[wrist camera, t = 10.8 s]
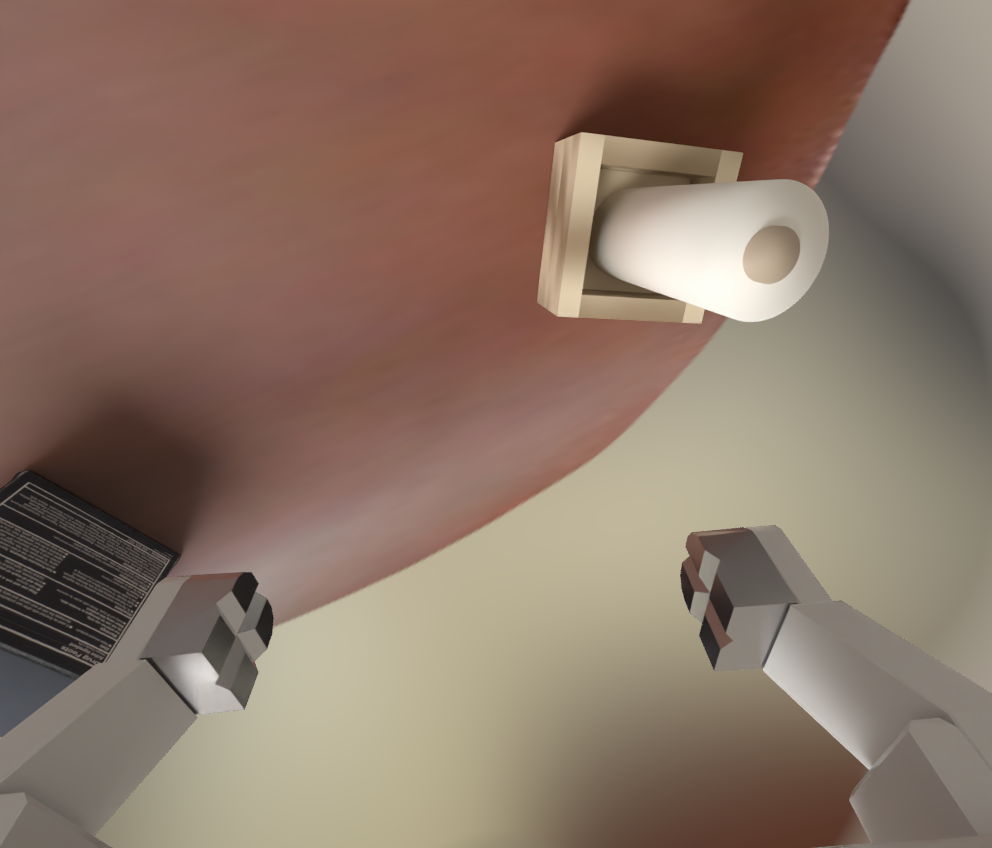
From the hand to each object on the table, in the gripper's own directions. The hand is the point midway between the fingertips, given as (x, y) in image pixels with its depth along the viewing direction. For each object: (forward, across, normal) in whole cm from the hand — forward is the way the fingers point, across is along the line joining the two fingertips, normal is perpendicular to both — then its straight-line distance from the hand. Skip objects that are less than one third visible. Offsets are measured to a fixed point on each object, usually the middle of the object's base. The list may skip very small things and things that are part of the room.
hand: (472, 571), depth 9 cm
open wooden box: (+26, -9, +1) cm, 27 cm away
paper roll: (+24, -9, 0) cm, 25 cm away
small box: (+18, +28, +15) cm, 37 cm away
